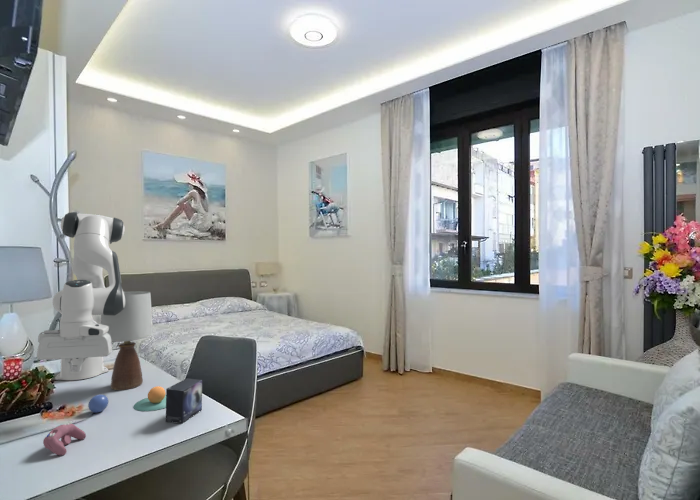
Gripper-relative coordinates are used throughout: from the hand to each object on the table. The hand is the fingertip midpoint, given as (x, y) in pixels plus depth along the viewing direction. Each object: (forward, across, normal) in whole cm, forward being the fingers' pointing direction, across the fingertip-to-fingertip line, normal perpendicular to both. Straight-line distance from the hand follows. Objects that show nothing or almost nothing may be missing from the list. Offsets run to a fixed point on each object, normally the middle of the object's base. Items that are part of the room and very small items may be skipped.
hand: (75, 371), depth 123 cm
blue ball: (+11, +8, -2) cm, 13 cm away
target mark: (+13, +25, 0) cm, 28 cm away
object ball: (+10, +25, +1) cm, 27 cm away
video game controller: (+14, +6, -25) cm, 29 cm away
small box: (+13, +35, -14) cm, 40 cm away
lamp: (+14, +10, +24) cm, 30 cm away
